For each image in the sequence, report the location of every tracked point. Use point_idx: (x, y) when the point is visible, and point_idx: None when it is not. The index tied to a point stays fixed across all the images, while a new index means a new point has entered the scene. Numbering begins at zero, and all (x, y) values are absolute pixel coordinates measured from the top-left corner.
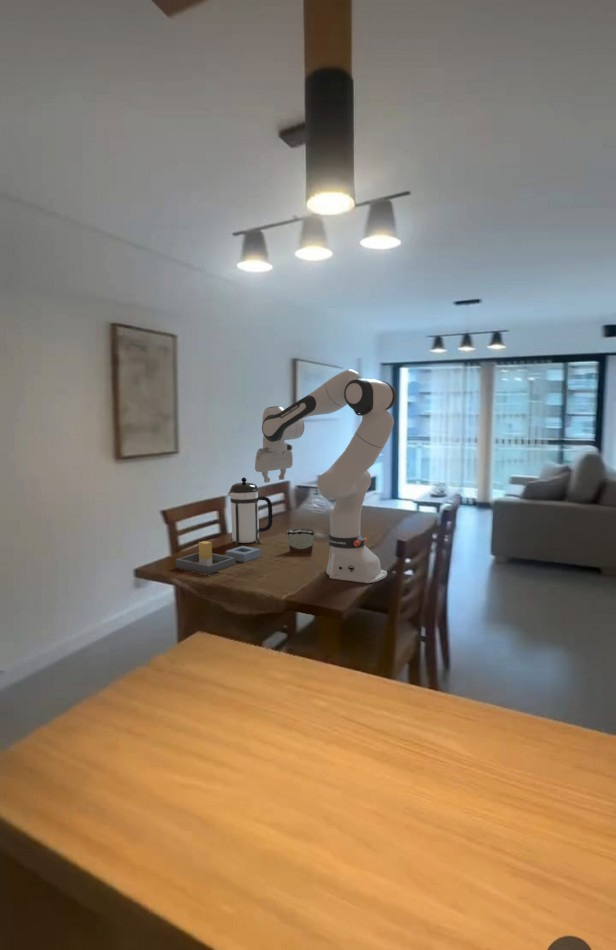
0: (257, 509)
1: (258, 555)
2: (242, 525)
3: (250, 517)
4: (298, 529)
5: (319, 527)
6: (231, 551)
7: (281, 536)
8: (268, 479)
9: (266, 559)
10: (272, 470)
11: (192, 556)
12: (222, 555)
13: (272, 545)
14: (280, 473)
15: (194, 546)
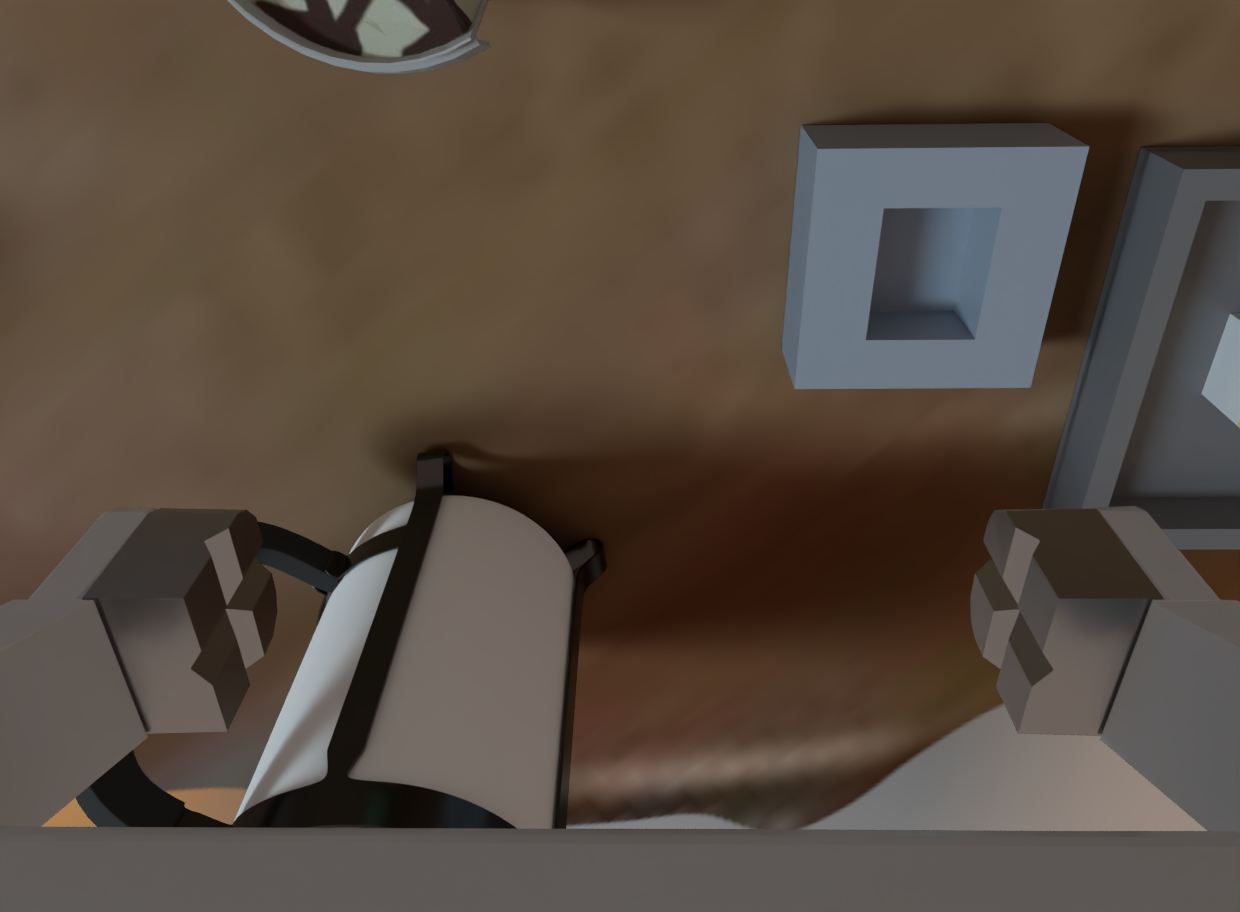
0: (325, 711)
1: (849, 135)
2: (547, 643)
3: (469, 656)
4: (248, 2)
5: None
6: (1024, 334)
7: (79, 478)
8: (1117, 562)
9: (793, 62)
10: (1093, 833)
11: (1210, 522)
12: (1139, 332)
13: (363, 348)
14: (76, 789)
15: (759, 759)
